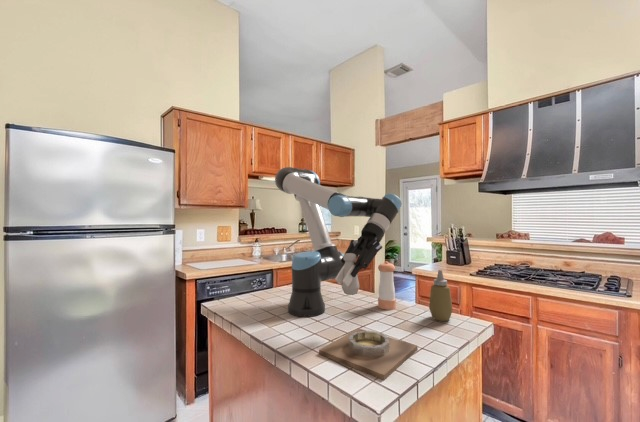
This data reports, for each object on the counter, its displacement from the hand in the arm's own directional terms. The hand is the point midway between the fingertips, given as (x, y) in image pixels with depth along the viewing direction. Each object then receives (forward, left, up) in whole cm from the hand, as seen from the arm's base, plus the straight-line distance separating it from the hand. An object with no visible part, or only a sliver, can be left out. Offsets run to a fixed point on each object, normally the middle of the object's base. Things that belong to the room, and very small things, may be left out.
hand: (341, 282), depth 92 cm
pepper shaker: (-3, +36, -17) cm, 40 cm away
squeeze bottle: (+19, +36, -17) cm, 45 cm away
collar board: (+12, -4, -17) cm, 21 cm away
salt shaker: (+1, +4, -4) cm, 6 cm away
